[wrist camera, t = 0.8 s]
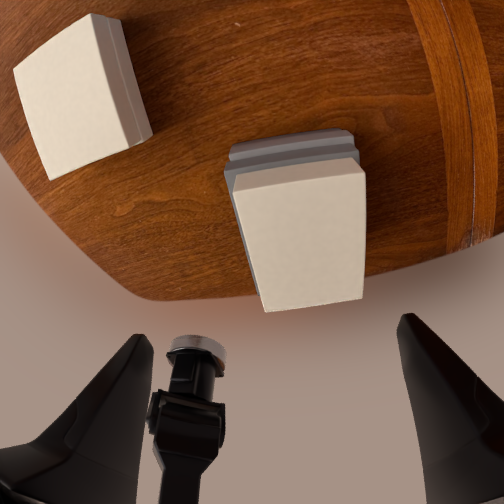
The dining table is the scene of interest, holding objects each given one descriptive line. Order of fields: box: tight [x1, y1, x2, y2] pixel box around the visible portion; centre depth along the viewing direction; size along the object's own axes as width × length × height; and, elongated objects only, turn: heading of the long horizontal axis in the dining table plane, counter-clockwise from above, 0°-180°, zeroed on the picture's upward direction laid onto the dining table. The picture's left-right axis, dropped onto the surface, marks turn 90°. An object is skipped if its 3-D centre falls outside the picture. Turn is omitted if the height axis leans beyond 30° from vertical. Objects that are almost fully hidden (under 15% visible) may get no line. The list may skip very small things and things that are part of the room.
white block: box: [233, 157, 366, 312], centre depth 15 cm, size 8×6×2 cm
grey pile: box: [224, 128, 360, 296], centre depth 18 cm, size 9×7×4 cm
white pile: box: [13, 13, 153, 181], centre depth 14 cm, size 9×7×4 cm
